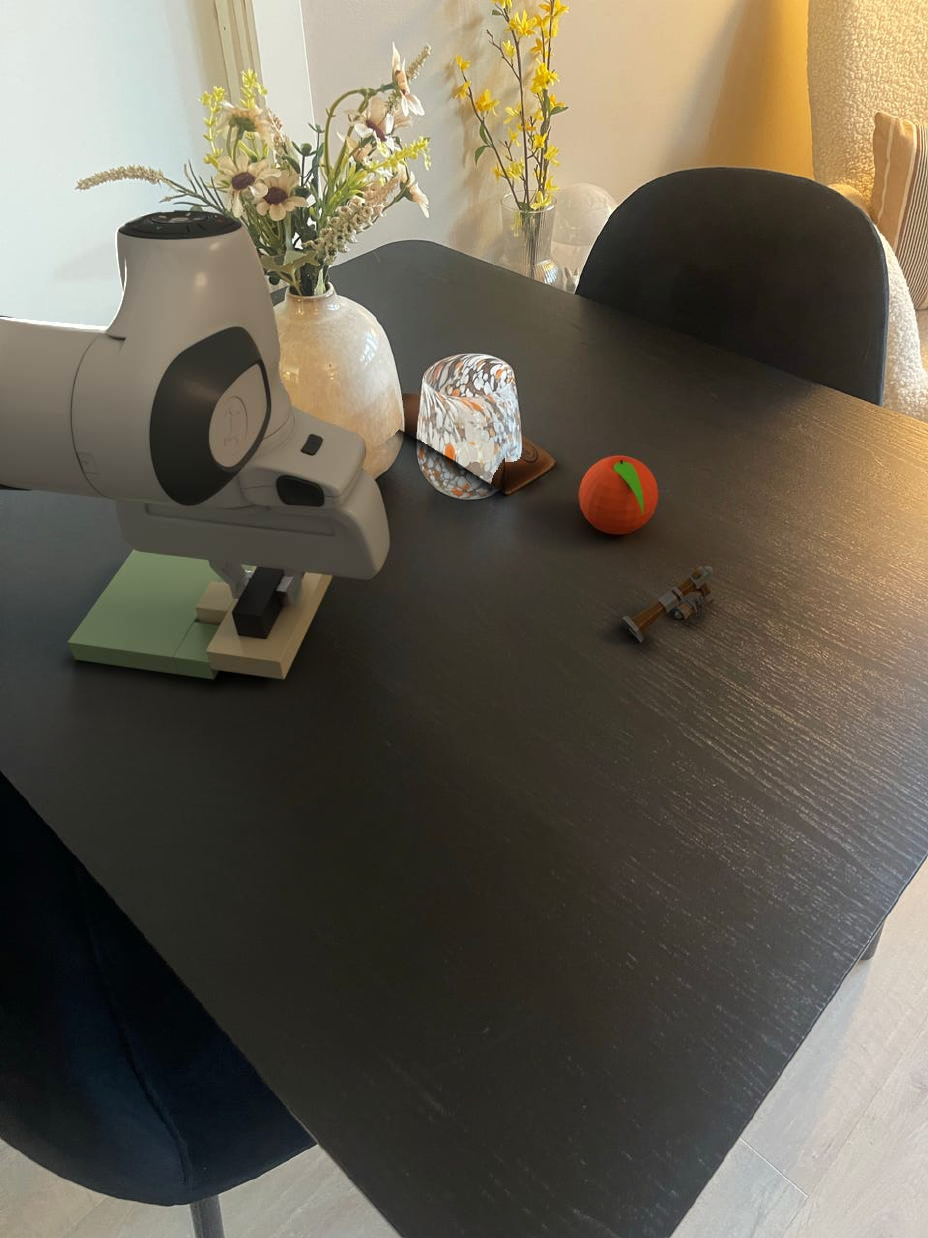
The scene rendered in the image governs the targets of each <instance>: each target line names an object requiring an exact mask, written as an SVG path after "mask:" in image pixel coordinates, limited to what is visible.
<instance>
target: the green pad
mask: <svg viewBox="0 0 928 1238" xmlns="http://www.w3.org/2000/svg"><path fill="white" fill-rule="evenodd" d="M241 566H242V567H243V568H244V569H245V571H251V570H252V568H253V567H254V566H250V565H242V564H241ZM210 582H219V583H226V582H225V581H224V580H223V579H222V578H221V577H220V576H219V575H218V574H217V573H215V572H214V571H213V570H212V569H211V568H210V564H209V561H208V560H202V559H194V558H186V557H178V556H170V555H161V554H153V553H145V552H139V551H136V550H135V549H134V548H133V549H132V551H131V552H130V553H129V555H128V557H127V558H126V559H125V561H124V562H123V563H122V565H121V566H120V568H119V569H118V570H117V572H116V574H115V575H114V576H113V578H112V579H111V580H110V582H109V583H108V585H107V586H106V587H105V589H104V591H103V592H102V593H101V594H100V596H99V597H98V599H97V600H96V602H95V603H94V604H93V606H92V607H91V609H90V610H89V611H88V613H87V614H86V615H85V617H84V618H83V620H82V621H81V623H80V624H79V625H78V627H77V628H76V630H75V631H74V633H73V634H72V636H71V637H70V638H69V639H68V641H67V644H68V647H69V649H70V651H71V653H72V656H73V658H74V659H75V660H77V661H84V662H89V663H90V662H91V663H97V664H103V665H104V664H105V665H110V666H119V667H123V668H124V667H125V668H132V669H139V670H145V671H152V672H158V673H159V672H160V673H165V674H166V673H167V674H172V675H181V676H187V677H194V678H202V679H206V680H207V679H208V680H215V678H217V675H218V673H219V672H220V670H215V669H211V667H210V664H209V660H208V657H207V654H206V650H207V648H208V646H209V645H210V643H211V641H212V639H213V637H214V636H215V634H216V632H217V630H218V629H219V627H220V626H219V625H211V624H204V623H200V621H199V618H198V615H197V612H196V609H195V607H196V605H197V604H198V602H199V600H200V599H201V597H202V595H203V594H204V592H205V590H206V589H207V587H208V585H209V584H210Z"/></svg>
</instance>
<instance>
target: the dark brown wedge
mask: <svg viewBox="0 0 928 1238" xmlns="http://www.w3.org/2000/svg"><path fill="white" fill-rule="evenodd" d="M400 393H401V394H402V400H403V408H404V417H405V433H404V434H406V435H408V436H410V437H412V438H414V439H415V440H417V439H416V432H417V420H418V412H419V404H420V396H421V395H422V394H420V393H411V392H400ZM556 464H557V461H556V459H555V458H553V457H552V455H550V454H549V453H548V452H547V451H546V450H544V449H543V448H542V447H540V446H539V445H537V444H536V443H535V442H533V441H532V440H530V439H529V438H527V437H526V436H524V435H522V453H521V457H520V459H518V460H517V461H514V462H505V458H504V459H503V460H502V463H500V465H499V467H498V470H496V472H495V473H494V475H493V478H492V482H491V485H490V486H491V487H493V488H494V489H496V490H497V491H498V490H499V491H500V492H502V493H503V494H504V495H506V496H510V495H512V494H514V493H515V492H516V493H517V492H518V491H520V490H521V489H524V488H525V487H527V486H529V485H531V484H532V483H534V482H535V481H536V480H538V479H539V478H541V477H542V476H543V475H545V474H546V473H547V472H550V471H551V470H552V469H553V468H554V467H555V465H556Z"/></svg>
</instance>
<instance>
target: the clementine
mask: <svg viewBox="0 0 928 1238" xmlns="http://www.w3.org/2000/svg"><path fill="white" fill-rule="evenodd" d="M578 498H579V499H578V500H579V507H580V510H581V512H582V515H584V518H585V519H586V521H588V523H590V524H591V525H592V526H593V527H594V528H595V529H596V530H598V531H600V532H602V533H605V534H610V535H626V534H631V533H633V532H635V531H637V530H639V529H640V528H642V527H643V526H644V525H646V524H647V523H648V521H649V520H650V519H651V517H652V516H653V515H654V513H655V510H656V507H657V505H658V501H659V489H658V483H657V481H656V478H655V476H654V474H653V472H652V471H651V470H650V469H649V468H648V467H647V466H646V464H645V463H643V462H642V461H640V460H639V459H636V458H634V457H631V456H627V455H612V456H607V457H605V458H602V459H600V460H598V461H596V462H595V463H594V464H593V465H592V466H590V467H589V469H588V470H587V471H586V473H585V474H584V475H583V478H582V480H581V482H580V486H579V490H578Z"/></svg>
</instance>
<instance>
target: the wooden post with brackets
mask: <svg viewBox="0 0 928 1238" xmlns="http://www.w3.org/2000/svg"><path fill="white" fill-rule="evenodd" d="M713 571H714V569H713V567H712V566H711V565H706V566H705V567H702V565H700V566H699V567H698V568H695V570H693V571H691V573H690V574H689V575H687V577H688V578H687V579H686V580H684V581H683V582H682V583H681V584H679V585H678V586H677V587H676V585H674V586H672V588H671V590H670V589H669V590H668V591H667V592H666V593H665V594H663V595H662V596H661V597H660V598H658V599H657V600H658V601H657V602H656V603H654V604H653V605H651V606H650V607H648V608H647V609H645V610H643V611H642V612H640V613H639V614H637V615H635V616H633V617H629V616H628V615H627V614H626V615H625V616H623V617H622V619H623V621H624V624H625V626H626V627H627V629H628V630H629V632H631V634H632V635H633V636H634V637H635V638H636V639H637V640H638V641H639V642H640V643H642V641H645V638H644V634H645V632H647V630H648V629H649V628H650V627H651V626H652V625H653V624H654V623H655V622H656V621H657V620H658V619H659V618H660V617H661V616H662V615H664V614H665V613H669V612H670V611H671V610H673V608H675V607H676V610H677V611H675V613H674V617H675V619H678V620H680V619H682V618H683V619H684V620H687V618H688V617H689V616H690V615H691V614H692V613H694V612H695V613H697V614H698V609H697V606H701V605H700V604H701V603H700V602H701V601H704V602H705V603H706V604H708V605H710V604H712V603H713V602H715V600H714V595H713V593H712V591H711V590H710V589H709V587H708V585H707V582H708V581H709V580H711V576H710V575H712V574H713ZM690 593H695V594H697V593H698V594H700V595H699V596H698V598H697V597H695V596H694V597H693V599H689V598H688V597H686V596H688V595H689V594H690ZM701 597H702V598H701ZM685 600H686V601H685ZM683 601H685V602H683ZM680 602H683V603H682V604H680Z"/></svg>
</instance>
